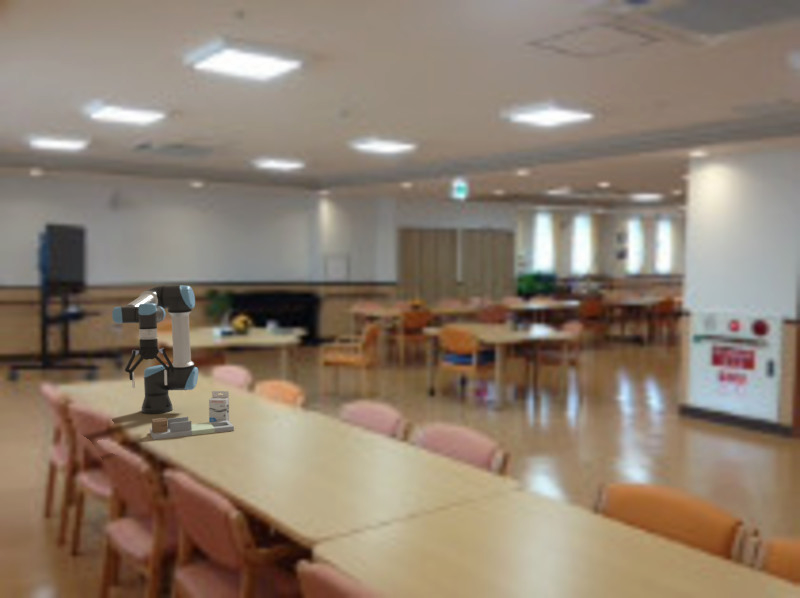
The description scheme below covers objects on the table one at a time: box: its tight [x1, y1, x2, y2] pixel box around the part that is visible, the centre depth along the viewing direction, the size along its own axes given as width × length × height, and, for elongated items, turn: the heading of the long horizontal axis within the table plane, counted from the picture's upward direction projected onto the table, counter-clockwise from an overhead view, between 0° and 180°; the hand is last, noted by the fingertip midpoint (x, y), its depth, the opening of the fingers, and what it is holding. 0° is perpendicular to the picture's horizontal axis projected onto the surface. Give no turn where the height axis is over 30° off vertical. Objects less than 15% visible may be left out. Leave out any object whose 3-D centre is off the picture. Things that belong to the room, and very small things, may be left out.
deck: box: [149, 416, 235, 440], centre depth 327 cm, size 13×35×6 cm, turn 115°
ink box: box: [208, 390, 230, 422], centre depth 344 cm, size 9×5×15 cm, turn 84°
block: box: [151, 417, 168, 433], centre depth 321 cm, size 6×6×5 cm
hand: (149, 386), depth 319 cm, fingers open, 13 cm apart
